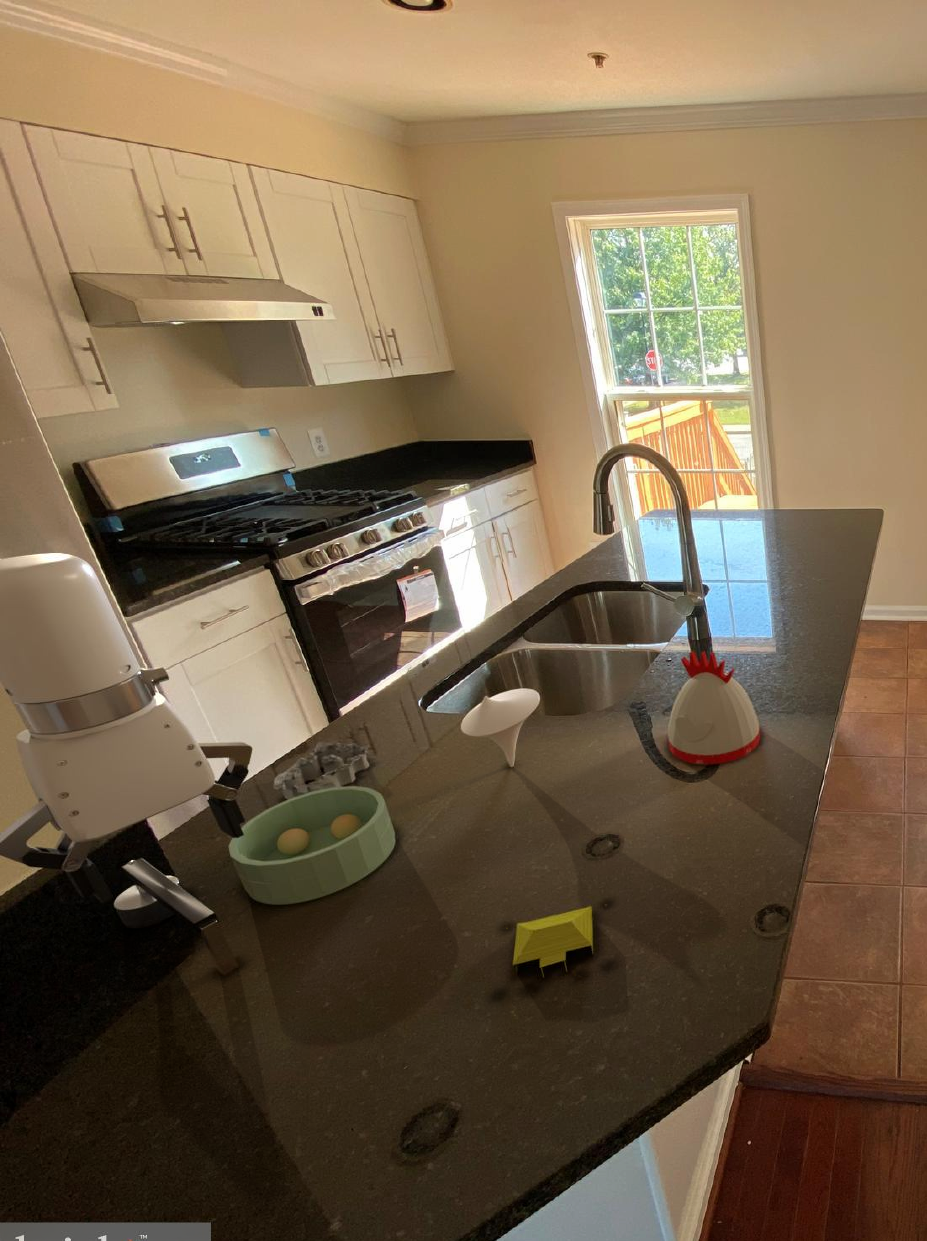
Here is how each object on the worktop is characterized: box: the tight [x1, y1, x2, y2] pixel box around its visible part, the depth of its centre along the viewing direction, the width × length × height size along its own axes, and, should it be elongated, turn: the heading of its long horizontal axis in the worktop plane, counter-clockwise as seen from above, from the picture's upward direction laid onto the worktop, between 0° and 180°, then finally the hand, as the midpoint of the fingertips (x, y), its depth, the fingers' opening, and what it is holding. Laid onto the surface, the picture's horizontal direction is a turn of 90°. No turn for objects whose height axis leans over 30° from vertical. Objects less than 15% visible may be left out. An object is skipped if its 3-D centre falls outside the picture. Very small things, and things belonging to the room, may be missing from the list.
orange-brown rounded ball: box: [277, 828, 310, 855], centre depth 82 cm, size 3×3×3 cm
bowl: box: [228, 785, 397, 906], centre depth 81 cm, size 14×14×6 cm
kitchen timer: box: [667, 650, 761, 766], centre depth 105 cm, size 14×14×15 cm
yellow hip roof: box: [497, 903, 608, 998], centre depth 70 cm, size 10×9×3 cm
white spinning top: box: [460, 688, 541, 768], centre depth 99 cm, size 10×11×12 cm
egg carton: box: [273, 741, 370, 800], centre depth 96 cm, size 11×8×4 cm
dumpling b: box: [331, 814, 361, 839], centre depth 85 cm, size 3×3×3 cm
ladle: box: [113, 857, 239, 976], centre depth 70 cm, size 19×5×7 cm, turn 62°
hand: (171, 862), depth 65 cm, fingers open, 9 cm apart
